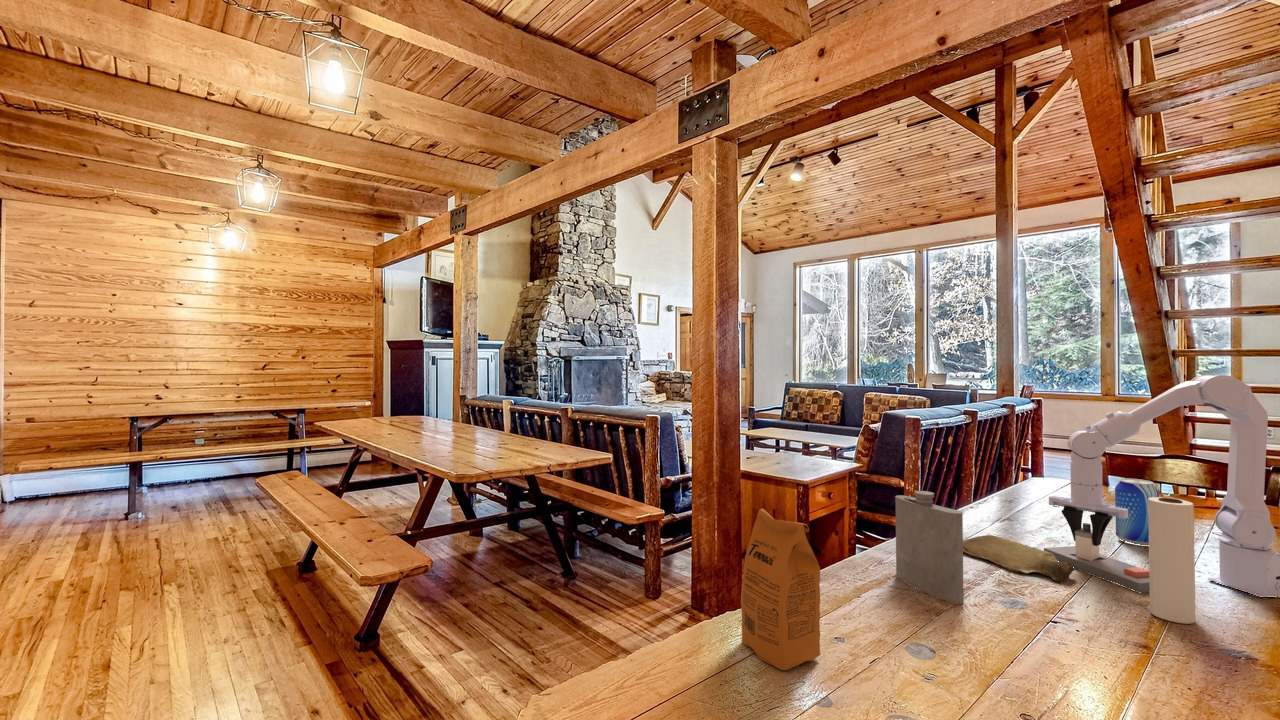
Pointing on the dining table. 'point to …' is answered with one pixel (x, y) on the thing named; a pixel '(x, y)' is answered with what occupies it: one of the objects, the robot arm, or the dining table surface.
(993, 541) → the stone tool
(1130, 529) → the beer can
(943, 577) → the hip flask
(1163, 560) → the paper towel roll
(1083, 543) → the plug
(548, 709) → the dining table surface
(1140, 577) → the power strip
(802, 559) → the coffee package
